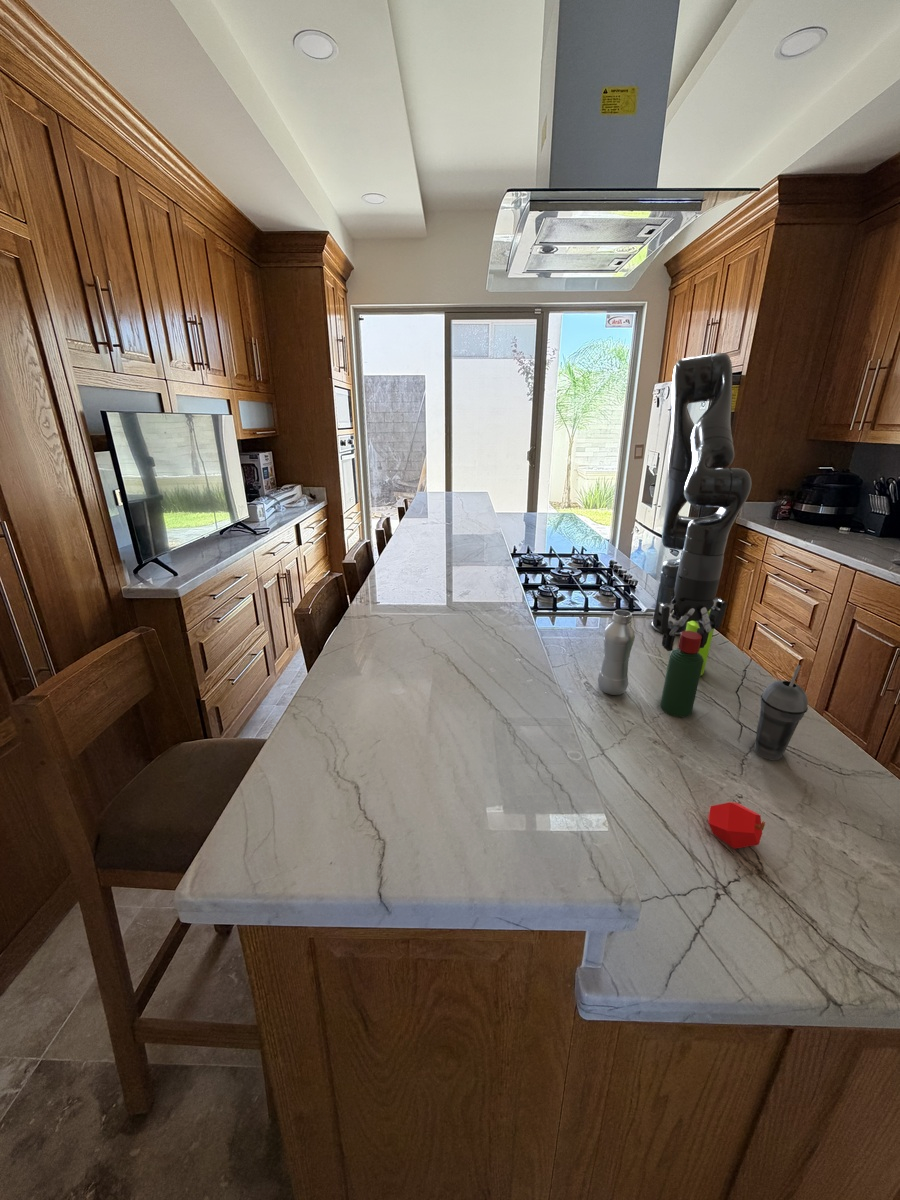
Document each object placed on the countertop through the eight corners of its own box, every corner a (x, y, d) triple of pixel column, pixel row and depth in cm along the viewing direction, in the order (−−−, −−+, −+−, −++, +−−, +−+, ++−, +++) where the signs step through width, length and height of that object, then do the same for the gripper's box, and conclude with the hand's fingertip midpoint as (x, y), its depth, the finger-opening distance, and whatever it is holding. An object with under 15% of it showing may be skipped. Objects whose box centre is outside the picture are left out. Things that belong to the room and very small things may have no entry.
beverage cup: (782, 743, 96) (812, 654, 88) (796, 768, 89) (829, 675, 81) (741, 737, 97) (766, 649, 90) (752, 761, 91) (780, 669, 83)
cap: (693, 655, 98) (696, 641, 97) (674, 648, 101) (677, 634, 100) (702, 649, 100) (705, 635, 99) (683, 642, 103) (686, 628, 102)
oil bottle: (665, 696, 111) (679, 628, 104) (695, 707, 107) (711, 636, 100) (656, 709, 106) (669, 638, 99) (686, 721, 102) (703, 648, 95)
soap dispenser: (681, 676, 118) (697, 601, 110) (676, 662, 124) (690, 590, 117) (707, 679, 117) (725, 604, 109) (700, 665, 123) (717, 592, 115)
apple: (697, 804, 75) (757, 816, 69) (711, 788, 79) (768, 797, 74) (703, 848, 75) (763, 863, 69) (717, 829, 79) (774, 842, 74)
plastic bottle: (628, 700, 109) (641, 620, 101) (597, 696, 111) (608, 618, 103) (624, 684, 115) (637, 608, 107) (595, 681, 116) (605, 605, 109)
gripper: (719, 564, 98) (703, 636, 105) (654, 568, 96) (641, 642, 103) (745, 577, 92) (726, 653, 98) (676, 581, 90) (661, 659, 96)
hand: (683, 647), depth 101 cm, fingers open, 6 cm apart
